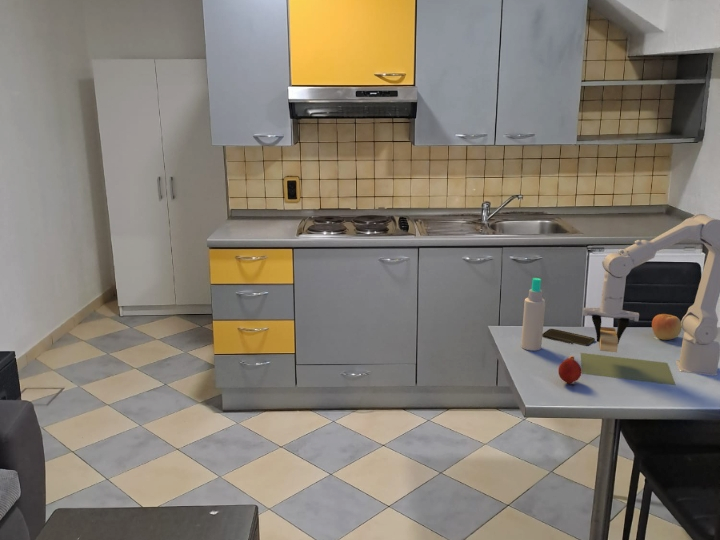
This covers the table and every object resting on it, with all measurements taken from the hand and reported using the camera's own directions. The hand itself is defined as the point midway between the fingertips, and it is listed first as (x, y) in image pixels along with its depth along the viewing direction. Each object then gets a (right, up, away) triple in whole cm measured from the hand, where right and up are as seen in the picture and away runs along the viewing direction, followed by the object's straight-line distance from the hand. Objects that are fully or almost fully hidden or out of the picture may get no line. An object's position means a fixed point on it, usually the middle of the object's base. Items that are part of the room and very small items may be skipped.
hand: (607, 341), depth 184 cm
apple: (+28, -2, +25) cm, 37 cm away
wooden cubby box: (0, -1, 0) cm, 1 cm away
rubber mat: (+5, -8, 0) cm, 9 cm away
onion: (-14, -10, -10) cm, 20 cm away
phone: (-4, -2, +23) cm, 24 cm away
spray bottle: (-18, -4, +15) cm, 24 cm away
